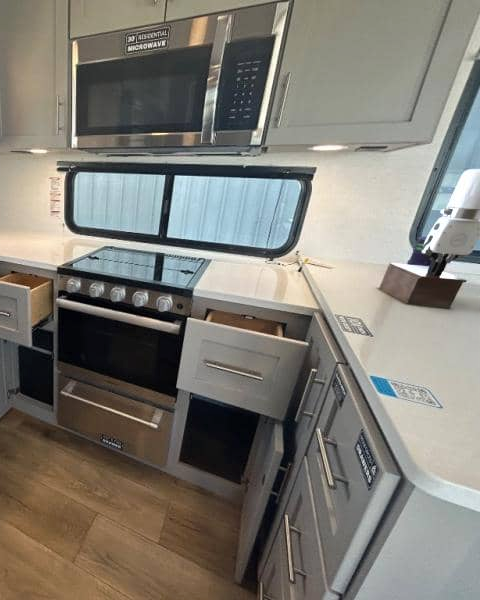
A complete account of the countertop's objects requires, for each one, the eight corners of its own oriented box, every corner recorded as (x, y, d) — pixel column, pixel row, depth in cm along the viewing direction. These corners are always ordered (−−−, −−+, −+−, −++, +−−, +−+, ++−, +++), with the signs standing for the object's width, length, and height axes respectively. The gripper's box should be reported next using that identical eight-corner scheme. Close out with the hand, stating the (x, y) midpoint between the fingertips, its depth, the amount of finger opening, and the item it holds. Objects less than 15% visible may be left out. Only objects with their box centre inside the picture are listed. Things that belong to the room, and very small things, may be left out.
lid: (465, 282, 98) (467, 280, 98) (420, 278, 100) (421, 276, 100) (427, 268, 112) (428, 266, 112) (388, 264, 114) (389, 262, 114)
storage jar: (404, 275, 134) (420, 239, 128) (401, 270, 141) (416, 235, 136) (438, 281, 129) (456, 243, 123) (433, 275, 136) (450, 239, 130)
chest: (449, 308, 103) (463, 282, 99) (406, 304, 105) (418, 278, 101) (416, 292, 116) (427, 268, 112) (378, 288, 118) (388, 265, 114)
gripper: (442, 214, 94) (414, 275, 101) (505, 218, 91) (472, 280, 98) (423, 211, 101) (398, 268, 108) (481, 214, 98) (452, 273, 105)
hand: (433, 274), depth 103 cm, fingers closed
